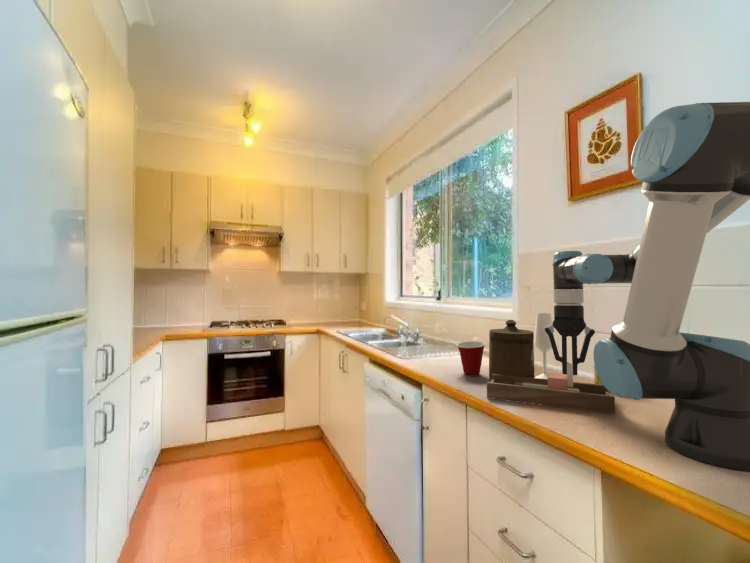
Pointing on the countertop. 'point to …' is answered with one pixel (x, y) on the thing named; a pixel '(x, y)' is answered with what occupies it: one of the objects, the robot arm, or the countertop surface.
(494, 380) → the box
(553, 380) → the block
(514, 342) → the wooden container
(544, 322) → the champagne flute
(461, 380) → the countertop surface
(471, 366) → the plastic cup
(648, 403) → the countertop surface
